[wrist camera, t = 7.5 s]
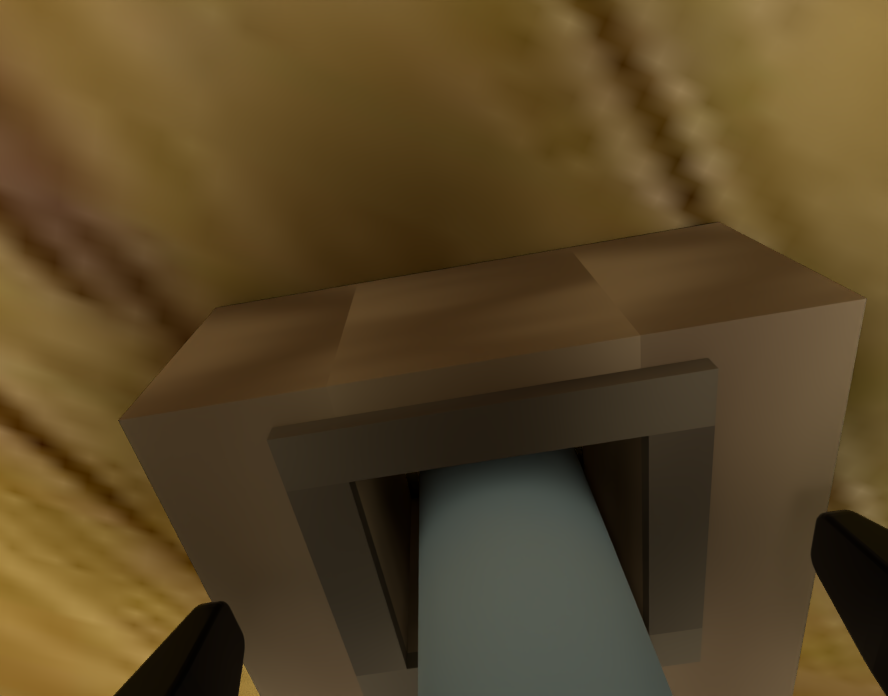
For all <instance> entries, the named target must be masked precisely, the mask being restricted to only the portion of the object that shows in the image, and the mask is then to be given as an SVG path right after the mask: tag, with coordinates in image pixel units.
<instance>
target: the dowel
mask: <svg viewBox="0 0 888 696" xmlns="http://www.w3.org/2000/svg"><path fill="white" fill-rule="evenodd" d="M418 696H673V695H672V692H671V690H670V687H669V685H668V682H667V680H666V677H665V675H664V672H663V670H662V667H661V665H660V662H659V660H658V657H657V655H656V652H655V650H654V647H653V645H652V642H651V640H650V637H649V635H648V632H647V629H646V627H645V624H644V622H643V619H642V617H641V614H640V612H639V609H638V607H637V604H636V602H635V599H634V597H633V594H632V592H631V589H630V587H629V584H628V582H627V579H626V577H625V574H624V572H623V569H622V567H621V564H620V562H619V559H618V557H617V554H616V552H615V549H614V547H613V544H612V542H611V539H610V537H609V534H608V532H607V529H606V527H605V524H604V522H603V519H602V517H601V514H600V512H599V509H598V507H597V504H596V502H595V499H594V497H593V494H592V492H591V489H590V487H589V484H588V482H587V479H586V477H585V474H584V472H583V469H582V467H581V464H580V462H579V459H578V457H577V454H576V452H575V449H574V447H573V448H566V449H560V450H554V451H547V452H541V453H534V454H528V455H521V456H515V457H508V458H502V459H495V460H489V461H482V462H476V463H470V464H463V465H457V466H450V467H444V468H437V469H431V470H424V471H420V475H419V607H418Z"/></svg>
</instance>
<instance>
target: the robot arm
mask: <svg viewBox="0 0 888 696" xmlns="http://www.w3.org/2000/svg"><path fill="white" fill-rule="evenodd" d="M810 555H811V561H812V564H813V567H814V569H815V571H816V573H817V575H818V577H819V579H820V580H821V582H822V584H823V586H824V588H825V590H826V591H827V593H828V595H829V597H830V599H831V601H832V602H833V604H834V606H835V608H836V610H837V612H838V613H839V615H840V617H841V619H842V621H843V622H844V624H845V626H846V628H847V630H848V632H849V633H850V635H851V637H852V639H853V641H854V643H855V644H856V646H857V648H858V650H859V652H860V654H861V655H862V657H863V659H864V661H865V662H866V664H867V666H868V667H869V669H870V671H871V673H872V674H873V676H874V677H875V679H876V680H877V682H878V683H879V685H880V687H881V688H882V690H883V691H884V693H885V694H886V696H888V529H887V528H885V527H883V526H881V525H879V524H877V523H875V522H873V521H871V520H869V519H867V518H865V517H863V516H862V515H860V514H858V513H855V512H853V511H850V510H839V511H832V512H825V513H821V514H820V515H819V516H818V517H817V519H816V523H815V528H814V534H813V540H812V545H811V553H810ZM244 652H245V639H244V635H243V632H242V630H241V628H240V626H239V624H238V622H237V620H236V618H235V616H234V614H233V612H232V610H231V608H230V606H229V605H228V604H227V603H226V602H224V601H217V602H210V603H204V604H200V605H198V606H197V607H195V608H194V609H193V610H192V611H191V612H190V613H189V615H188V616H187V617H186V618H185V619H184V620H183V621H182V622H181V623H180V624H179V625H178V626H177V628H176V629H175V630H174V631H173V632H172V633H171V634H170V635H169V636H168V637H167V638H166V639H165V641H164V642H163V643H162V644H161V645H160V646H159V647H158V648H157V649H156V650H155V651H154V652H153V654H152V655H151V656H150V657H149V658H148V659H147V660H146V661H145V662H144V663H143V664H142V665H141V666H140V668H139V669H138V670H137V671H136V672H135V673H134V674H133V675H132V676H131V677H130V678H129V679H128V681H127V682H126V683H125V684H124V685H123V686H122V687H121V688H120V689H119V690H118V691H117V692H116V694H115V695H114V696H238V693H239V686H240V680H241V673H242V666H243V659H244Z"/></svg>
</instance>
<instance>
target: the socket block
mask: <svg viewBox="0 0 888 696" xmlns="http://www.w3.org/2000/svg"><path fill="white" fill-rule="evenodd" d="M866 300H867V298H865V297H863V296H861V295H859V294H857V293H855V292H853V291H851V290H849V289H847V288H846V287H844V286H842V285H840V284H838V283H836V282H834V281H832V280H830V279H828V278H826V277H824V276H822V275H820V274H819V273H817V272H815V271H813V270H811V269H809V268H807V267H805V266H803V265H801V264H799V263H797V262H795V261H793V260H792V259H790V258H788V257H786V256H784V255H782V254H780V253H778V252H776V251H774V250H772V249H770V248H768V247H766V246H765V245H763V244H761V243H759V242H757V241H755V240H753V239H751V238H749V237H747V236H745V235H743V234H741V233H739V232H738V231H736V230H734V229H732V228H730V227H728V226H726V225H724V224H722V223H720V222H716V223H711V224H705V225H699V226H693V227H687V228H681V229H675V230H670V231H664V232H658V233H652V234H646V235H640V236H634V237H629V238H623V239H617V240H611V241H605V242H599V243H593V244H588V245H582V246H576V247H570V248H564V249H558V250H552V251H547V252H541V253H535V254H529V255H523V256H517V257H511V258H506V259H500V260H494V261H488V262H482V263H476V264H470V265H465V266H459V267H453V268H447V269H441V270H435V271H429V272H424V273H418V274H412V275H406V276H400V277H394V278H388V279H383V280H377V281H371V282H365V283H359V284H353V285H347V286H342V287H336V288H330V289H324V290H318V291H312V292H306V293H301V294H295V295H289V296H283V297H277V298H271V299H265V300H259V301H254V302H248V303H242V304H236V305H230V306H224V307H218V308H215V309H214V310H213V312H212V313H211V314H210V315H209V316H208V317H207V319H206V320H205V321H204V322H203V323H202V324H201V325H200V327H199V328H198V329H197V330H196V331H195V332H194V334H193V335H192V336H191V337H190V338H189V339H188V340H187V342H186V343H185V344H184V345H183V346H182V347H181V349H180V350H179V351H178V352H177V353H176V354H175V355H174V357H173V358H172V359H171V360H170V361H169V362H168V364H167V365H166V366H165V367H164V368H163V369H162V370H161V372H160V373H159V374H158V375H157V376H156V377H155V379H154V380H153V381H152V382H151V383H150V384H149V385H148V387H147V388H146V389H145V390H144V391H143V392H142V394H141V395H140V396H139V397H138V398H137V399H136V400H135V402H134V403H133V404H132V405H131V406H130V407H129V409H128V410H127V411H126V412H125V413H124V414H123V415H122V417H121V418H120V419H119V420H118V421H119V423H120V425H121V427H122V429H123V431H124V433H125V434H126V436H127V438H128V440H129V442H130V444H131V446H132V448H133V450H134V452H135V454H136V456H137V458H138V460H139V462H140V464H141V465H142V467H143V469H144V471H145V473H146V475H147V477H148V479H149V481H150V483H151V485H152V487H153V489H154V491H155V493H156V495H157V497H158V498H159V500H160V502H161V504H162V506H163V508H164V510H165V512H166V514H167V516H168V518H169V520H170V522H171V524H172V526H173V528H174V530H175V531H176V533H177V535H178V537H179V539H180V541H181V543H182V545H183V547H184V549H185V551H186V553H187V555H188V557H189V559H190V561H191V562H192V564H193V566H194V568H195V570H196V572H197V574H198V576H199V578H200V580H201V582H202V584H203V586H204V588H205V590H206V592H207V594H208V595H209V597H210V599H211V601H212V602H217V601H224V602H226V603H227V604H228V605H229V606H230V608H231V610H232V612H233V614H234V616H235V618H236V620H237V622H238V624H239V626H240V628H241V630H242V632H243V635H244V639H245V652H244V659H243V663H244V665H245V667H246V669H247V671H248V673H249V675H250V677H251V679H252V681H253V683H254V685H255V687H256V689H257V691H258V692H259V694H260V696H418V607H419V498H414V499H411V495H410V491H409V487H408V483H407V479H406V475H405V473H411V472H418V471H424V470H431V469H437V468H444V467H450V466H457V465H463V464H470V463H476V462H482V461H489V460H495V459H502V458H508V457H515V456H521V455H528V454H534V453H541V452H547V451H554V450H560V449H566V448H573V447H579V446H582V447H583V462H584V474H585V477H586V479H587V482H588V484H589V487H590V489H591V492H592V494H593V497H594V499H595V502H596V504H597V507H598V509H599V512H600V514H601V517H602V519H603V522H604V524H605V527H606V529H607V532H608V534H609V537H610V539H611V542H612V544H613V547H614V549H615V552H616V554H617V557H618V559H619V562H620V564H621V567H622V569H623V572H624V574H625V577H626V579H627V582H628V584H629V587H630V589H631V592H632V594H633V597H634V599H635V602H636V604H637V607H638V609H639V612H640V614H641V617H642V619H643V622H644V624H645V627H646V629H647V632H648V635H649V637H650V640H651V642H652V645H653V647H654V650H655V652H656V655H657V657H658V660H659V662H660V665H661V667H662V670H663V672H664V675H665V677H666V680H667V682H668V685H669V687H670V690H671V692H672V695H673V696H792V695H793V690H794V685H795V679H796V674H797V669H798V663H799V658H800V653H801V647H802V642H803V637H804V631H805V626H806V621H807V615H808V610H809V605H810V599H811V594H812V589H813V583H814V578H815V573H816V571H815V569H814V567H813V564H812V561H811V555H810V553H811V545H812V540H813V534H814V528H815V523H816V519H817V517H818V516H819V515H820V514H821V513H825V512H827V508H828V503H829V498H830V492H831V487H832V482H833V476H834V471H835V466H836V460H837V455H838V450H839V444H840V439H841V434H842V428H843V423H844V418H845V412H846V407H847V402H848V396H849V391H850V386H851V380H852V375H853V370H854V364H855V359H856V354H857V348H858V343H859V338H860V332H861V327H862V321H863V316H864V311H865V305H866Z"/></svg>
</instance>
